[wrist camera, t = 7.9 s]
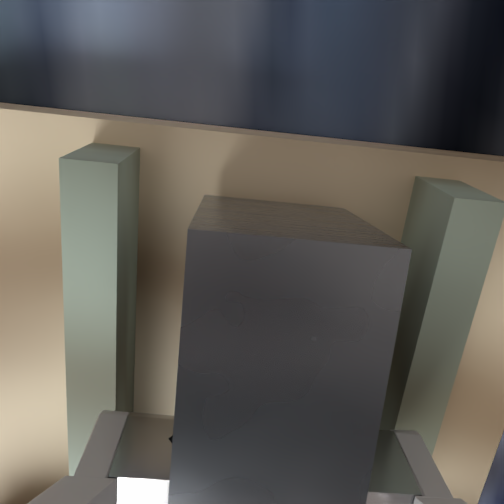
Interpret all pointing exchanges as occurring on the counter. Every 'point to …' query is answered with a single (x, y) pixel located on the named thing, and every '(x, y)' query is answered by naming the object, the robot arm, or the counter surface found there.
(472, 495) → the lock board
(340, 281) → the bar
